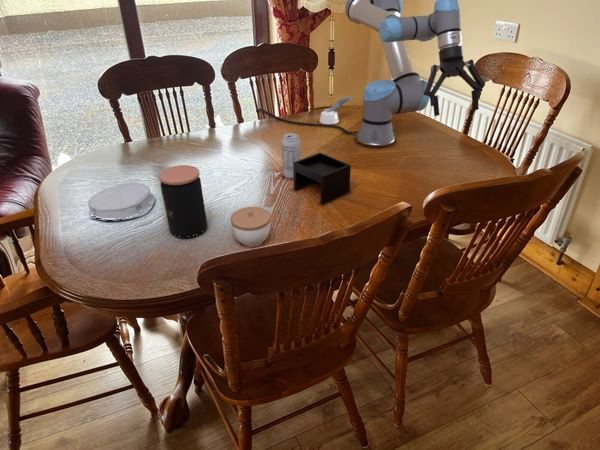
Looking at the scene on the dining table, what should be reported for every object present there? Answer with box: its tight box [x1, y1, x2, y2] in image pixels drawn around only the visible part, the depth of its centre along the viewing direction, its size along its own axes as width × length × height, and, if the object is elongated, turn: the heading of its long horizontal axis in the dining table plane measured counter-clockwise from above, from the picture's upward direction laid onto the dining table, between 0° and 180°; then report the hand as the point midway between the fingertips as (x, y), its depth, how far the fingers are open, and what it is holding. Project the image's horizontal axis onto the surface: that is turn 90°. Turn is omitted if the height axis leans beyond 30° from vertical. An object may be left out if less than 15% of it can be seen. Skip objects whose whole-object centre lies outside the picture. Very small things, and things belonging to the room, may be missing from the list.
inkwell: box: [318, 95, 355, 125], centre depth 205 cm, size 9×18×10 cm, turn 121°
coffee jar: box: [158, 164, 208, 240], centre depth 125 cm, size 11×11×18 cm
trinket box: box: [230, 206, 272, 248], centre depth 122 cm, size 11×11×9 cm
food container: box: [87, 182, 156, 221], centre depth 140 cm, size 20×20×7 cm
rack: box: [293, 152, 352, 206], centre depth 146 cm, size 14×12×10 cm
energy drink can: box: [281, 132, 301, 180], centre depth 154 cm, size 6×6×15 cm
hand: (456, 112), depth 152 cm, fingers open, 13 cm apart
